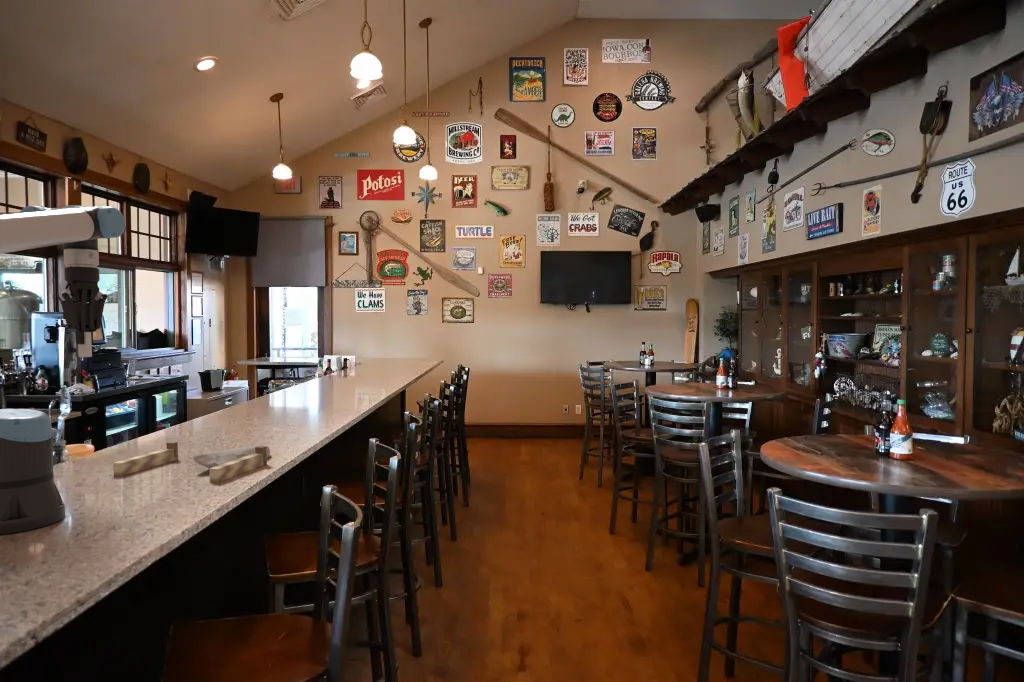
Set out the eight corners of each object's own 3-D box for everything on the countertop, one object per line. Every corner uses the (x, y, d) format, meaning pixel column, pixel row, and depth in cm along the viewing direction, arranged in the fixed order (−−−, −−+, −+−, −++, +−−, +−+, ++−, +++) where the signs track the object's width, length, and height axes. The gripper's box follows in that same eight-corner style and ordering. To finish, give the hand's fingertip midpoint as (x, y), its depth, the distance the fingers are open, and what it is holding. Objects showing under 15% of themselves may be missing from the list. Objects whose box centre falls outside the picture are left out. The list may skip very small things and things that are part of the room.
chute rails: (218, 482, 160) (217, 462, 159) (113, 475, 168) (113, 456, 168) (266, 464, 179) (266, 446, 179) (171, 458, 187) (170, 441, 187)
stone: (223, 480, 166) (284, 459, 190) (225, 462, 166) (286, 443, 190) (186, 470, 170) (251, 451, 194) (188, 452, 169) (252, 435, 193)
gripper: (70, 264, 155) (73, 358, 156) (115, 268, 168) (118, 355, 169) (46, 265, 157) (50, 358, 158) (92, 268, 170) (95, 355, 171)
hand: (85, 356), depth 163 cm, fingers closed
